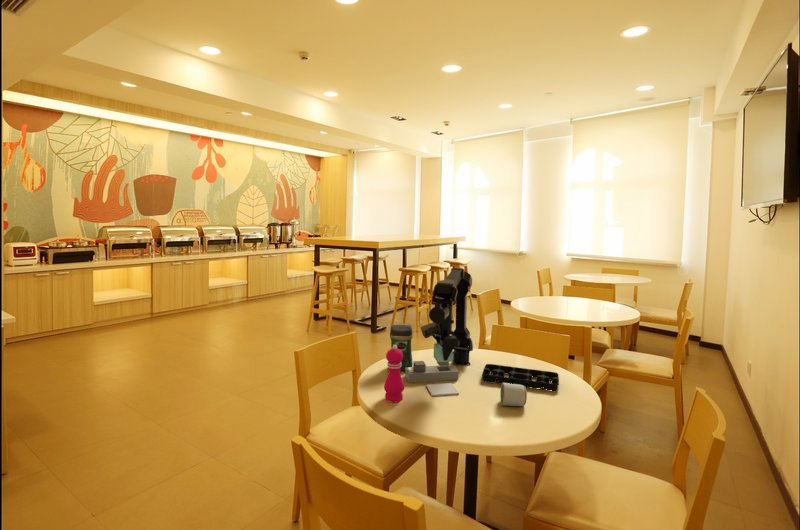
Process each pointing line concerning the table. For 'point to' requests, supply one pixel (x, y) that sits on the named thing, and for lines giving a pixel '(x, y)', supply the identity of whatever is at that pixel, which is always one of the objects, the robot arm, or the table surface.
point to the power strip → (430, 372)
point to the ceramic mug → (513, 394)
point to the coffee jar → (402, 343)
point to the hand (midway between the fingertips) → (443, 357)
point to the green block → (441, 355)
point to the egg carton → (521, 376)
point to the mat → (442, 389)
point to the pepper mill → (394, 376)
